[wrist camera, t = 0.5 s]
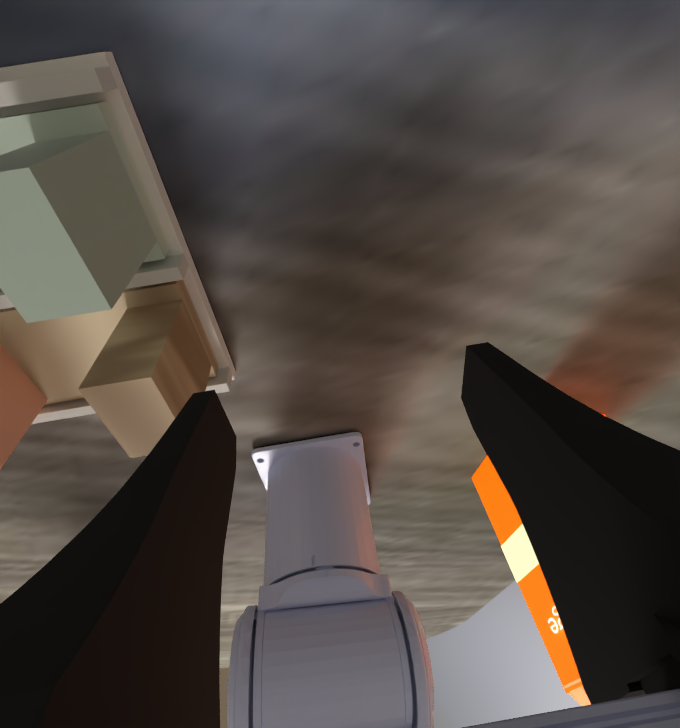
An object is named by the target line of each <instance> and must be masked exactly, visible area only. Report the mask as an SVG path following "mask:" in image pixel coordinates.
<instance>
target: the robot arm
mask: <svg viewBox="0 0 680 728" xmlns="http://www.w3.org/2000/svg"><path fill="white" fill-rule="evenodd" d="M461 398H462V401H463V404H464V407H465V409H466V412H467V415H468V417H469V420H470V422H471V425H472V427H473V429H474V431H475V433H476V435H477V437H478V439H479V441H480V442H481V444H482V446H483V448H484V450H485V452H486V454H487V455H488V457H489V459H490V461H491V463H492V464H493V466H494V468H495V470H496V472H497V474H498V475H499V477H500V479H501V481H502V483H503V484H504V486H505V488H506V490H507V492H508V494H509V496H510V498H511V500H512V502H513V504H514V506H515V508H516V510H517V512H518V514H519V517H520V519H521V521H522V524H523V526H524V528H525V531H526V533H527V536H528V538H529V540H530V543H531V545H532V548H533V550H534V553H535V555H536V558H537V560H538V563H539V565H540V568H541V570H542V573H543V575H544V578H545V580H546V583H547V586H548V588H549V591H550V594H551V596H552V599H553V602H554V604H555V607H556V610H557V612H558V615H559V618H560V620H561V623H562V626H563V629H564V632H565V635H566V638H567V641H568V644H569V646H570V649H571V652H572V655H573V658H574V661H575V664H576V667H577V670H578V673H579V676H580V679H581V682H582V685H583V688H584V690H585V693H586V695H587V697H588V699H589V701H590V703H591V705H585V706H581V707H574V708H569V709H563V710H558V711H553V712H547V713H541V714H535V715H530V716H524V717H519V718H513V719H509V720H502V721H497V722H491V723H485V724H480V725H474V726H469V727H463V728H680V450H677V449H675V448H672V447H670V446H668V445H665V444H663V443H661V442H658V441H656V440H654V439H651V438H649V437H647V436H645V435H643V434H640V433H638V432H636V431H634V430H632V429H630V428H628V427H626V426H624V425H622V424H620V423H618V422H616V421H614V420H612V419H610V418H608V417H606V416H604V415H602V414H600V413H598V412H597V411H595V410H593V409H591V408H589V407H588V406H586V405H584V404H582V403H581V402H579V401H577V400H575V399H574V398H572V397H570V396H568V395H567V394H565V393H564V392H562V391H560V390H559V389H557V388H555V387H554V386H552V385H551V384H549V383H547V382H546V381H544V380H543V379H541V378H540V377H538V376H537V375H535V374H534V373H532V372H531V371H529V370H528V369H526V368H525V367H523V366H522V365H520V364H519V363H517V362H516V361H515V360H513V359H512V358H510V357H509V356H507V355H506V354H504V353H503V352H501V351H500V350H499V349H497V348H496V347H494V346H493V345H491V344H489V343H488V342H487V343H481V344H475V345H469V346H466V355H465V365H464V375H463V385H462V395H461ZM355 442H356V443H355ZM252 459H253V461H254V463H255V465H256V468H257V470H258V472H259V475H260V477H261V479H262V482H263V484H264V486H265V488H266V491H267V509H266V535H265V561H264V586H260V587H259V601H258V606H257V605H255V606H248V607H247V608H246V609H245V611H244V613H243V614H242V615H241V616H240V618H239V619H238V620H237V622H236V625H235V629H234V634H233V640H232V647H231V656H230V666H229V680H228V681H229V682H228V705H227V707H228V708H227V722H228V728H434V726H433V709H434V687H433V677H432V669H431V663H430V657H429V652H428V647H427V643H426V638H425V635H424V631H423V628H422V624H421V621H420V619H419V616H418V613H417V611H416V609H415V607H414V606H413V604H412V603H411V602H410V601H409V600H408V599H407V598H406V597H405V595H404V594H403V593H402V592H400V591H393V592H391V588H390V583H389V578H388V575H387V574H380V568H379V563H378V557H377V552H376V547H375V541H374V536H373V530H372V525H371V519H370V514H369V509H368V505H369V504H370V502H371V501H370V493H369V486H368V478H367V470H366V462H365V454H364V447H363V439H362V435H361V433H359V432H351V433H345V434H339V435H333V436H327V437H321V438H315V439H309V440H303V441H297V442H291V443H285V444H279V445H273V446H267V447H261V448H256V449H254V450H253V451H252ZM235 471H236V435H235V433H234V431H233V429H232V426H231V424H230V422H229V420H228V418H227V416H226V413H225V411H224V409H223V407H222V405H221V403H220V400H219V398H218V396H217V394H216V392H215V390H209V391H203V392H198V393H193V394H192V396H191V397H190V398H189V400H188V401H187V402H186V404H185V405H184V407H183V408H182V409H181V411H180V412H179V414H178V415H177V416H176V418H175V419H174V421H173V422H172V423H171V425H170V426H169V428H168V429H167V430H166V432H165V433H164V435H163V436H162V437H161V439H160V440H159V441H158V443H157V444H156V445H155V447H154V448H153V449H152V451H151V452H150V453H149V455H148V456H147V457H146V459H145V460H144V461H143V462H142V463H141V465H140V466H139V467H138V468H137V470H136V471H135V472H134V473H133V475H132V476H131V477H130V478H129V480H128V481H127V482H126V483H125V485H124V486H123V487H122V488H121V489H120V490H119V492H118V493H117V494H116V495H115V496H114V497H113V498H112V499H111V501H110V502H109V503H108V504H107V505H106V506H105V507H104V508H103V509H102V510H101V511H100V512H99V513H98V514H97V516H96V517H95V518H94V519H93V520H92V521H91V522H90V523H89V524H88V525H87V526H86V527H85V528H84V529H83V530H82V531H81V532H80V533H79V534H78V535H77V536H76V537H75V538H74V539H73V540H72V541H70V542H69V543H68V544H67V545H66V546H65V547H64V548H63V549H62V550H61V551H60V552H59V553H58V554H57V555H56V556H55V557H54V558H53V559H52V560H51V561H49V562H48V563H47V564H46V565H45V566H44V567H43V568H42V569H41V570H40V571H39V572H37V573H36V574H35V575H34V576H33V577H32V578H31V579H29V580H28V581H27V582H26V583H25V584H24V585H23V586H21V587H20V588H19V589H18V590H17V591H16V592H14V593H13V594H12V595H11V596H10V597H8V598H7V599H6V600H5V601H4V602H2V603H1V604H0V728H220V699H219V653H220V609H221V585H222V565H223V554H224V545H225V538H226V532H227V525H228V519H229V512H230V506H231V499H232V492H233V486H234V479H235Z"/></svg>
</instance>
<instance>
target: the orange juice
mask: <svg viewBox="0 0 680 728" xmlns="http://www.w3.org/2000/svg"><path fill="white" fill-rule="evenodd" d="M602 415H604V416H606V415H605V414H602ZM606 417H607V416H606ZM472 480H473V482H474V484H475V487H476V489H477V491H478V493H479V496H480V498H481V500H482V503H483V505H484V507H485V509H486V512H487V514H488V516H489V518H490V521H491V523H492V525H493V528H494V530H495V532H496V534H497V537H498V539H499V541H500V544H501V548H502V550H503V552H504V555H505V557H506V559H507V561H508V564H509V566H510V568H511V571H512V573H513V575H514V577H515V580H516V582H517V583H518V585H519V587H520V589H521V591H522V594H523V596H524V598H525V600H526V603H527V605H528V607H529V610H530V611H531V614H532V616H533V619H534V621H535V623H536V625H537V628H538V630H539V632H540V635H541V637H542V639H543V641H544V644H545V646H546V648H547V650H548V653H549V655H550V657H551V660H552V662H553V664H554V666H555V669H556V671H557V673H558V676H559V678H560V680H561V682H562V685H563V687H564V689H565V692H566V693H569V694H570V695H571V696H572V697H573V698H574V699H575V700H576V701H577V702H578V704H579V705H580V706H585V705H591V703H590V701H589V699H588V697H587V695H586V693H585V690H584V688H583V685H582V682H581V679H580V676H579V673H578V670H577V667H576V664H575V661H574V658H573V655H572V652H571V649H570V646H569V644H568V641H567V638H566V635H565V632H564V629H563V626H562V623H561V620H560V618H559V615H558V612H557V610H556V607H555V604H554V602H553V599H552V596H551V594H550V591H549V588H548V586H547V583H546V580H545V578H544V575H543V573H542V570H541V568H540V565H539V563H538V560H537V558H536V555H535V553H534V550H533V548H532V545H531V543H530V540H529V538H528V536H527V533H526V531H525V528H524V526H523V524H522V521H521V519H520V517H519V514H518V512H517V510H516V508H515V506H514V504H513V502H512V500H511V498H510V496H509V494H508V492H507V490H506V488H505V486H504V484H503V483H502V481H501V479H500V477H499V475H498V474H497V472H496V470H495V468H494V466H493V464H492V463H491V461H490V459H489V457H488V455H487V456H486V458H485V459H484V461H483V462H482V463H481V465H480V466H479V468H478V469H477V471H476V472H475V473H474V475H473V476H472Z"/></svg>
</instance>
